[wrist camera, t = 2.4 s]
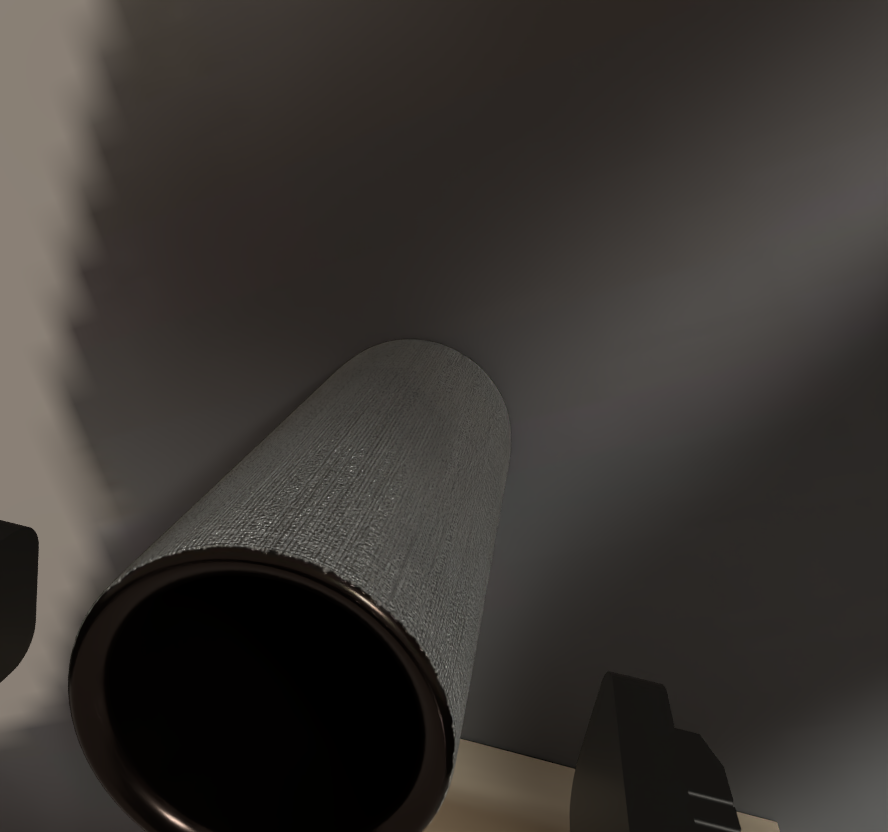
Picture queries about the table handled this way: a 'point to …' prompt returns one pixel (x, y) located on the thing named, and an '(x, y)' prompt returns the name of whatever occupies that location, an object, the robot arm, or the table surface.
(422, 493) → the grey and black cylinder
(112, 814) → the table surface
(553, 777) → the plinth
